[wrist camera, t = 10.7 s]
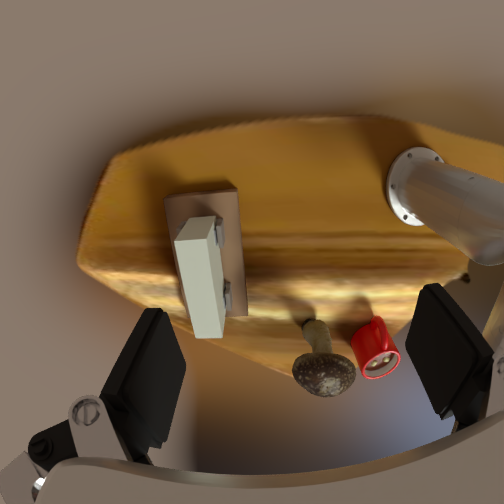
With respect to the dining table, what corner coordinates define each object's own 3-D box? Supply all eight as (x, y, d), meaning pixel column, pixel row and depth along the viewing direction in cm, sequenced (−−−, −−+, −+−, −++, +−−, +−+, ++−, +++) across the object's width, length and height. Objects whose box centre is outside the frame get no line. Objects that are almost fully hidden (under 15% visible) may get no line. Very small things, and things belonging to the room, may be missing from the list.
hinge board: (237, 188, 36) (235, 197, 32) (248, 308, 45) (247, 328, 40) (167, 195, 37) (156, 204, 32) (190, 310, 45) (184, 329, 41)
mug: (390, 301, 45) (407, 328, 38) (384, 346, 50) (397, 372, 43) (351, 311, 46) (365, 341, 38) (350, 355, 51) (360, 383, 43)
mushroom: (341, 329, 47) (364, 392, 34) (298, 346, 49) (310, 412, 35) (326, 293, 44) (351, 358, 30) (279, 312, 45) (287, 382, 32)
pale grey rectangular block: (216, 215, 36) (207, 238, 28) (227, 302, 42) (223, 337, 34) (189, 217, 36) (174, 241, 29) (204, 303, 42) (195, 338, 34)
